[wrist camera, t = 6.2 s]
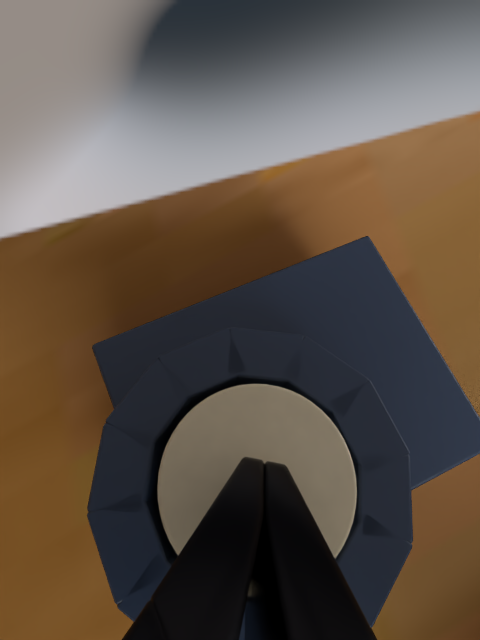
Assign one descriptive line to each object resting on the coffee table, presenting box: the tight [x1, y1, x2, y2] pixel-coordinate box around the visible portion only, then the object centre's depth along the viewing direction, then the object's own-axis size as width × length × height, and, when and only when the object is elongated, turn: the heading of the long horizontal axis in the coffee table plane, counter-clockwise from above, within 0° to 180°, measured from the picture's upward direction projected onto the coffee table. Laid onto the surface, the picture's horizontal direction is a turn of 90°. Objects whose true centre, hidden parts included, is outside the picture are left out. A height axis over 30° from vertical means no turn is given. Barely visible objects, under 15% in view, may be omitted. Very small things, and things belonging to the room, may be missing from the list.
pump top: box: [157, 384, 357, 558], centre depth 10 cm, size 4×4×2 cm
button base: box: [87, 236, 480, 640], centre depth 13 cm, size 10×8×6 cm
